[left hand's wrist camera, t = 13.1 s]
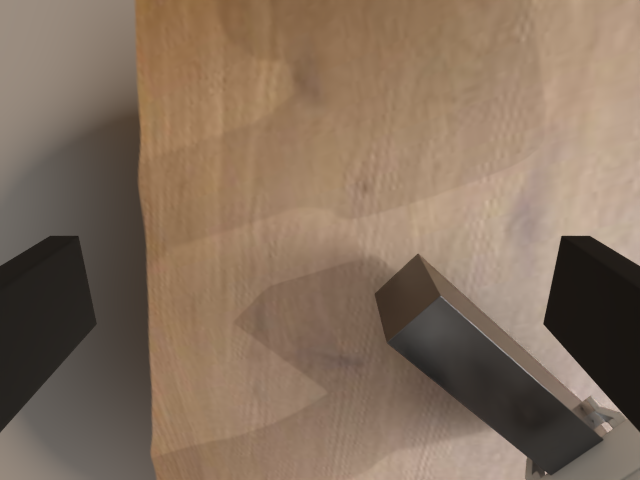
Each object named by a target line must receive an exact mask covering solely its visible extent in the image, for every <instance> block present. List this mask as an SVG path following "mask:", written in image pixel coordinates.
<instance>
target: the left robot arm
mask: <svg viewBox="0 0 640 480" xmlns="http://www.w3.org/2000/svg"><path fill="white" fill-rule="evenodd" d="M543 324H544V325H545V326H546V328H547V329H548V330H549V331H550V332H551V333H552V334H553V335H554V337H555V338H556V339H557V340H558V341H559V342H560V343H561V344H562V346H563V347H564V348H565V349H566V350H567V351H568V352H569V353H570V355H571V356H572V357H573V358H574V359H575V360H576V361H577V362H578V364H579V365H580V366H581V367H582V368H583V369H584V370H585V371H586V373H587V374H588V375H589V376H590V377H591V378H592V379H593V380H594V382H595V383H596V384H597V385H598V386H599V387H600V388H601V389H602V391H603V392H604V393H605V394H606V395H607V396H608V397H609V398H610V400H611V401H612V402H613V403H614V404H615V405H616V406H617V407H618V409H619V410H620V411H621V412H622V413H623V414H624V415H625V416H626V418H627V419H628V420H629V421H630V422H631V423H632V424H633V425H634V427H635V428H636V429H637V430H638V431H639V432H640V266H639V265H637V264H635V263H634V262H632V261H630V260H629V259H627V258H625V257H624V256H622V255H620V254H619V253H617V252H616V251H614V250H612V249H611V248H609V247H607V246H606V245H604V244H602V243H601V242H599V241H597V240H596V239H594V238H592V237H591V236H561V241H560V246H559V251H558V256H557V261H556V265H555V270H554V275H553V280H552V285H551V290H550V294H549V299H548V304H547V309H546V314H545V319H544V323H543ZM95 325H96V319H95V314H94V309H93V304H92V299H91V295H90V290H89V285H88V280H87V275H86V270H85V265H84V261H83V256H82V251H81V246H80V241H79V237H78V236H49V237H48V238H46V239H44V240H43V241H41V242H39V243H38V244H36V245H34V246H33V247H31V248H29V249H28V250H26V251H25V252H23V253H21V254H20V255H18V256H16V257H15V258H13V259H11V260H10V261H8V262H6V263H5V264H3V265H1V266H0V432H1V431H2V430H3V429H4V428H5V426H6V425H7V424H8V423H9V422H10V421H11V420H12V419H13V418H14V416H15V415H16V414H17V413H18V412H19V411H20V410H21V408H22V407H23V406H24V405H25V404H26V403H27V402H28V401H29V400H30V398H31V397H32V396H33V395H34V394H35V393H36V392H37V391H38V389H39V388H40V387H41V386H42V385H43V384H44V383H45V382H46V380H47V379H48V378H49V377H50V376H51V375H52V374H53V372H54V371H55V370H56V369H57V368H58V367H59V366H60V365H61V363H62V362H63V361H64V360H65V359H66V358H67V357H68V356H69V354H70V353H71V352H72V351H73V350H74V349H75V348H76V347H77V345H78V344H79V343H80V342H81V341H82V340H83V339H84V338H85V336H86V335H87V334H88V333H89V332H90V331H91V330H92V329H93V327H94V326H95Z"/></svg>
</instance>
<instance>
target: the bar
mask: <svg viewBox="0 0 640 480" xmlns="http://www.w3.org/2000/svg"><path fill="white" fill-rule="evenodd" d="M375 298H376V302H377V306H378V310H379V314H380V318H381V322H382V326H383V330H384V334H385V338H386V342H387V343H388V344H389V345H390V346H391V347H393V348H394V349H395V350H396V351H397V352H399V353H400V354H401V355H402V356H404V357H405V358H406V359H407V360H409V361H410V362H411V363H412V364H414V365H415V366H416V367H417V368H418V369H420V370H421V371H422V372H423V373H425V374H426V375H427V376H428V377H430V378H431V379H432V380H433V381H435V382H436V383H437V384H438V385H439V386H441V387H442V388H443V389H444V390H446V391H447V392H448V393H449V394H451V395H452V396H453V397H454V398H456V399H457V400H458V401H459V402H460V403H462V404H463V405H464V406H465V407H467V408H468V409H469V410H470V411H472V412H473V413H474V414H475V415H477V416H478V417H479V418H480V419H481V420H483V421H484V422H485V423H486V424H488V425H489V426H490V427H491V428H493V429H494V430H495V431H496V432H498V433H499V434H500V435H501V436H502V437H504V438H505V439H506V440H507V441H509V442H510V443H511V444H512V445H514V446H515V447H516V448H517V449H519V450H520V451H521V452H522V453H523V454H525V455H526V456H527V457H528V458H530V459H531V460H532V461H533V462H535V463H536V464H537V465H538V466H540V467H541V468H542V469H543V470H544V471H546V472H547V473H548V474H549V475H553V474H554V473H556V472H557V471H559V470H560V469H562V468H563V467H565V466H566V465H568V464H569V463H571V462H572V461H574V460H575V459H577V458H578V457H579V456H581V455H582V454H584V453H585V452H587V451H588V450H590V449H591V448H593V447H594V446H596V445H597V444H599V443H600V442H602V441H603V440H604V439H603V438H602V436H604V435H605V434H607V431H606V430H605V429H604V427H603V426H602V425H601V424H600V425H599V426H598V425H597V424H596V423H595V422H594V421H593V420H591V419H590V418H589V417H588V416H587V415H586V414H585V412H584V411H583V409H582V408H581V407H580V406H579V404H580V403H581V402H582V401H581V400H580V399H579V398H578V397H576V396H575V395H574V394H573V393H572V392H571V391H570V390H569V389H568V388H566V387H565V386H564V385H563V384H562V383H561V382H560V381H559V380H558V379H556V378H555V377H554V376H553V375H552V374H551V373H550V372H549V371H548V370H547V369H545V368H544V367H543V366H542V365H541V364H540V363H539V362H538V361H537V360H535V359H534V358H533V357H532V356H531V355H530V354H529V353H528V352H527V351H526V350H524V349H523V348H522V347H521V346H520V345H519V344H518V343H517V342H516V341H514V340H513V339H512V338H511V337H510V336H509V335H508V334H507V333H506V332H504V331H503V330H502V329H501V328H500V327H499V326H498V325H497V324H496V323H495V322H493V321H492V320H491V319H490V318H489V317H488V316H487V315H486V314H485V313H483V312H482V311H481V310H480V309H479V308H478V307H477V306H476V305H475V304H474V303H472V302H471V301H470V300H469V299H468V298H467V297H466V296H465V295H464V294H462V293H461V292H460V291H459V290H458V289H457V288H456V287H455V286H454V285H452V284H451V283H450V282H449V281H448V280H447V279H446V278H445V277H444V276H443V275H441V274H440V273H439V272H438V271H437V270H436V269H435V268H434V267H433V266H431V265H430V264H429V263H428V262H427V261H426V260H425V259H424V258H423V257H421V256H420V255H419V254H417V255H416V256H415V257H414V258H413V259H412V260H410V261H409V262H408V263H407V264H406V265H405V266H404V267H403V268H402V269H401V270H400V271H399V272H398V273H396V274H395V275H394V276H393V277H392V278H391V279H390V280H389V281H388V282H387V283H386V284H385V285H384V286H383V287H381V288H380V289H379V290H378V291H377V292H376V293H375Z"/></svg>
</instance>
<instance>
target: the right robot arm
mask: <svg viewBox="0 0 640 480" xmlns="http://www.w3.org/2000/svg"><path fill="white" fill-rule="evenodd" d="M579 406H580V407H581V408H582V409H583V411H584V412H585V414H586V415H587V416H588V417H589V418H590V419H591V420H593V421H594V422H595V423H596V424H597V425H598V426H599V425H600V424H602V423H603V422H608V423H609V424H610V425H611V427H612V428H613V429H612V430H611V431H610V432H608V433H607V434H605V435H604V436H602V438H603V439H604V440H603V441H602V442H600V443H599V444H597V445H596V446H594V447H593V448H591V449H590V450H588V451H587V452H585V453H584V454H582V455H581V456H579V457H578V458H577V459H575V460H574V461H572V462H571V463H569V464H568V465H566V466H565V467H563V468H562V469H560V470H559V471H557V472H556V473H554V474H553V475H549V474H546V475H545V471H544V470H543V469H542V468H541V467H540V466H538V465H537V464H536V463H535V462H533V461H532V460H531V459H530V458H528V457H527V460H526V475H525V479H526V480H640V432H639V431H638V430H637V429H636V428H635V427H634V425H633V424H632V423H631V422H630V421H629V420H628V419H627V418H626V417H625V416H624V415H622V414H621V413H620V412H616V411H613V410H610V409H607V408H604V407H602V406H601V405H600V404H599V403H598V402H597V401H596V400H595V399H594V398H593V397H592V396H590V397H588V398H587V399H585V400H584V401H583V402H581V403H580V404H579Z"/></svg>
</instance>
